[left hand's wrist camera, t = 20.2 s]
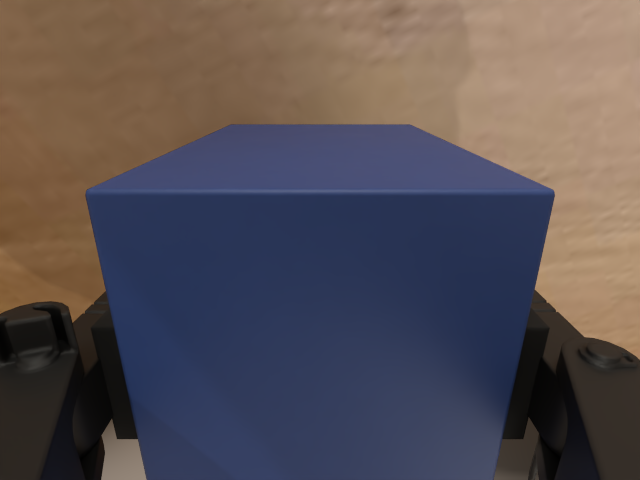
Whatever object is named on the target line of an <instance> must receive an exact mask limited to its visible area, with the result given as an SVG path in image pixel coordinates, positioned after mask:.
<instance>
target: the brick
mask: <svg viewBox="0 0 640 480" xmlns="http://www.w3.org/2000/svg"><path fill="white" fill-rule="evenodd" d="M554 197H555V194H554V190H552V189H550V188H548V187H546V186H544V185H541V184H539V183H537V182H535V181H533V180H530V179H528V178H526V177H524V176H522V175H519V174H517V173H515V172H513V171H511V170H508V169H506V168H504V167H502V166H500V165H497V164H495V163H493V162H491V161H489V160H486V159H484V158H482V157H480V156H478V155H476V154H473V153H471V152H469V151H467V150H465V149H462V148H460V147H458V146H456V145H454V144H451V143H449V142H447V141H445V140H443V139H440V138H438V137H436V136H434V135H432V134H429V133H427V132H425V131H423V130H421V129H418V128H416V127H414V126H412V125H229V126H227V127H224V128H222V129H220V130H218V131H216V132H213V133H211V134H209V135H207V136H205V137H202V138H200V139H198V140H196V141H194V142H191V143H189V144H187V145H185V146H182V147H180V148H178V149H176V150H174V151H171V152H169V153H167V154H165V155H163V156H160V157H158V158H156V159H154V160H152V161H149V162H147V163H145V164H143V165H141V166H138V167H136V168H134V169H132V170H129V171H127V172H125V173H123V174H121V175H118V176H116V177H114V178H112V179H110V180H107V181H105V182H103V183H101V184H99V185H96V186H94V187H92V188H90V189H87V191H86V200H87V205H88V209H89V214H90V219H91V223H92V228H93V232H94V237H95V242H96V246H97V251H98V256H99V260H100V265H101V270H102V274H103V279H104V284H105V288H106V293H107V297H108V302H109V307H110V311H111V316H112V321H113V325H114V330H115V335H116V339H117V344H118V349H119V353H120V358H121V363H122V367H123V372H124V376H125V381H126V386H127V390H128V395H129V400H130V404H131V409H132V414H133V418H134V423H135V428H136V432H137V437H138V441H139V446H140V451H141V455H142V460H143V465H144V469H145V474H146V479H147V480H494V475H495V470H496V466H497V461H498V456H499V452H500V447H501V442H502V438H503V433H504V429H505V424H506V419H507V415H508V410H509V405H510V401H511V396H512V391H513V387H514V382H515V378H516V373H517V368H518V364H519V359H520V354H521V350H522V345H523V340H524V336H525V331H526V326H527V322H528V317H529V313H530V308H531V303H532V299H533V294H534V289H535V285H536V280H537V275H538V271H539V266H540V262H541V257H542V252H543V248H544V243H545V238H546V234H547V229H548V224H549V220H550V215H551V211H552V206H553V201H554Z"/></svg>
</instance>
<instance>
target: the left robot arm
mask: <svg viewBox="0 0 640 480" xmlns="http://www.w3.org/2000/svg"><path fill="white" fill-rule="evenodd" d="M528 417H529V418H530V419H531V421H532V423H533V424H534V426H535V427H536V429H537V431H538V432H539V436H538V440H537V444H536V448H535V451H534V455H533V459H532V463H531V467H530V471H529V477H528V480H535V476H536V473H537V472H538V475H539V480H640V360H639V359H638V358H637V357H636V356H634V355H633V354H631V353H630V352H628V351H627V350H625V349H624V348H621V347H619V346H617V345H614V344H612V343H610V342H606V341H602V340H599V339H595V338H586V337H584V336H583V335H582V334H580V333H579V332H578V331H577V330H576V329H575V328H574V327H573V326H572V325H571V324H570V323H569V322H568V321H567V320H566V319H565V318H564V317H563V316H562V315H561V314H560V313H559V312H556V310H555V309H554V308H553V307H552V306H551V305H550V304H549V303H547V302H546V300H545V299H544V298H543V297H542V296H541V295H540V294H539V293H538V292H537V291H536V290H534V294H533V299H532V303H531V308H530V313H529V317H528V322H527V326H526V331H525V336H524V340H523V345H522V350H521V354H520V359H519V364H518V368H517V373H516V378H515V382H514V387H513V391H512V396H511V401H510V405H509V410H508V415H507V419H506V424H505V429H504V433H503V438H502V439H523V438H524V434H525V429H526V425H527V421H528ZM111 419H112V420H113V424H114V428H115V432H116V436H117V439H138V437H137V432H136V428H135V423H134V418H133V414H132V409H131V404H130V400H129V395H128V390H127V386H126V381H125V376H124V372H123V367H122V363H121V358H120V353H119V349H118V344H117V339H116V335H115V330H114V325H113V321H112V316H111V311H110V307H109V302H108V297H107V293H106V291H105V292H104V293H103V294H102V295H101V296H100V297H99V298H98V299H97V300H96V301H95V302H94V304H92V305H91V306H90V307H89V308H88V309H87V310H86V311H85V314H82V315H81V316H80V317H79V318H78V319H76V320H75V321H74V322H73V323H72V319H71V315H70V312H69V308H68V306H66V305H64V304H63V303H59V302H52V301H49V302H36V303H32V304H27V305H23V306H19V307H16V308H14V309H11V310H8V311H5V312H3V313H1V314H0V480H101V476H102V469H103V463H104V456H105V450H104V444H103V440H102V436H101V435H102V433H103V432H104V430H105V428H106V427H107V425H108V424H109V422H110V420H111Z"/></svg>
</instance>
